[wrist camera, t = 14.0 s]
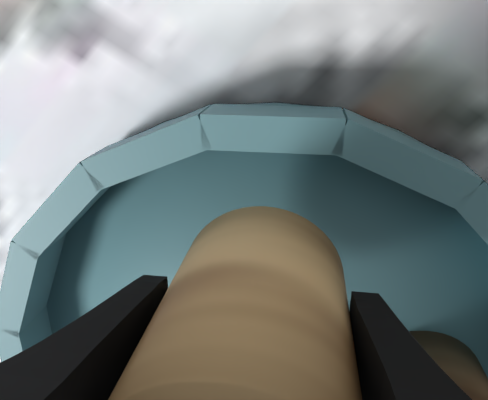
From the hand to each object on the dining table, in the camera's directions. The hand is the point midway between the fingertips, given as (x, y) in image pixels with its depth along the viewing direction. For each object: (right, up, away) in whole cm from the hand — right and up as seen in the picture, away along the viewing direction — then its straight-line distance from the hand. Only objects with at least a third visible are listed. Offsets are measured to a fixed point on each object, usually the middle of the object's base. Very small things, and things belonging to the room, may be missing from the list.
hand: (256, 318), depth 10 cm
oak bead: (0, +1, +2) cm, 2 cm away
